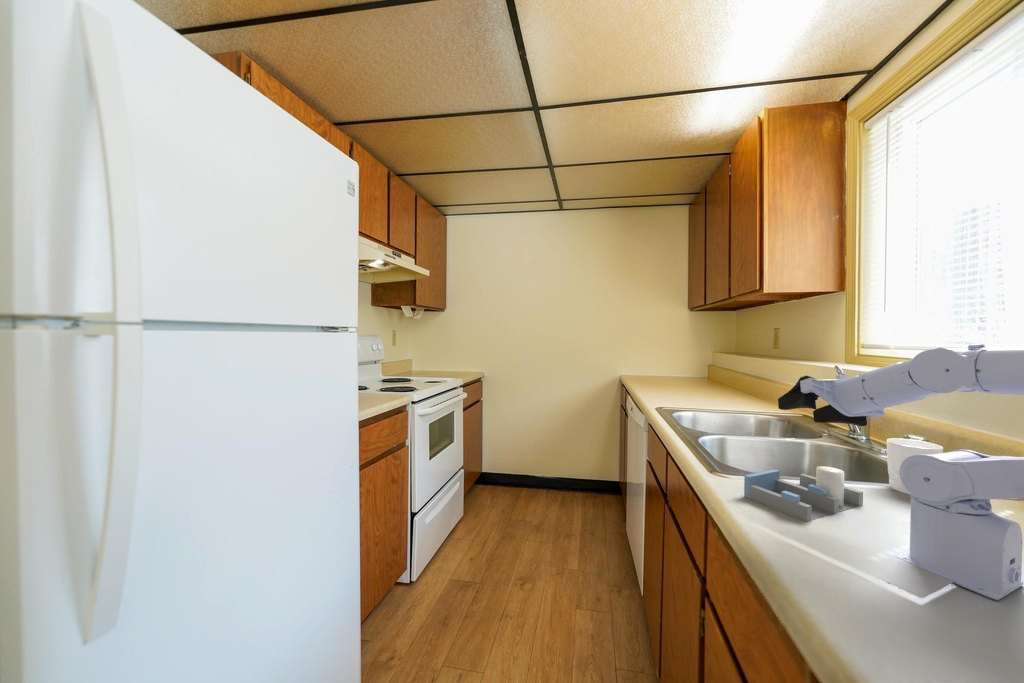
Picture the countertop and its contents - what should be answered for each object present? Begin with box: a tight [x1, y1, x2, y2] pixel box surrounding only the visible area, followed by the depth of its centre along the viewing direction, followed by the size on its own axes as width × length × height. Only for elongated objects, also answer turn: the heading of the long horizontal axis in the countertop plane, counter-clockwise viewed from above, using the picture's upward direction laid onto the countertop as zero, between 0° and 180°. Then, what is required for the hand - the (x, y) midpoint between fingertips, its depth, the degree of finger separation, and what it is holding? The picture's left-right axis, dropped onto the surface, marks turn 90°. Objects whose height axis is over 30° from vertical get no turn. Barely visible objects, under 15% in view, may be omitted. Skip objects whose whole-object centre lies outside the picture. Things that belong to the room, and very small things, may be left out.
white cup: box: [886, 437, 944, 496], centre depth 79 cm, size 8×8×10 cm
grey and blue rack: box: [743, 469, 864, 523], centre depth 73 cm, size 11×16×5 cm
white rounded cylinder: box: [815, 465, 845, 507], centre depth 73 cm, size 4×4×6 cm
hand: (797, 410), depth 73 cm, fingers open, 7 cm apart
